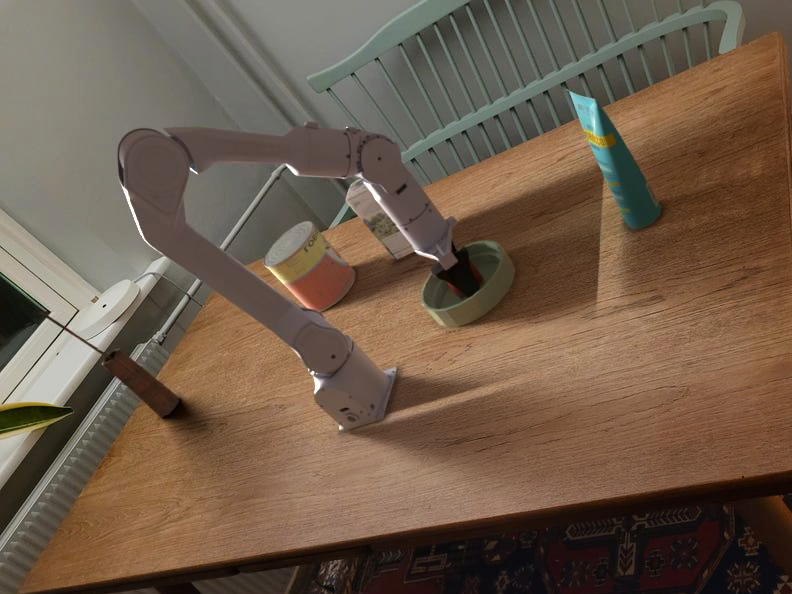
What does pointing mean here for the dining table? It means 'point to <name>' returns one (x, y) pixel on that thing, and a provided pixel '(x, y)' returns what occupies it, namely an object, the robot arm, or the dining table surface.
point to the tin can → (478, 278)
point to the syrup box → (377, 220)
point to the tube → (617, 165)
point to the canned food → (310, 267)
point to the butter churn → (134, 378)
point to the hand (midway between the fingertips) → (466, 281)
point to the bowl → (498, 283)
